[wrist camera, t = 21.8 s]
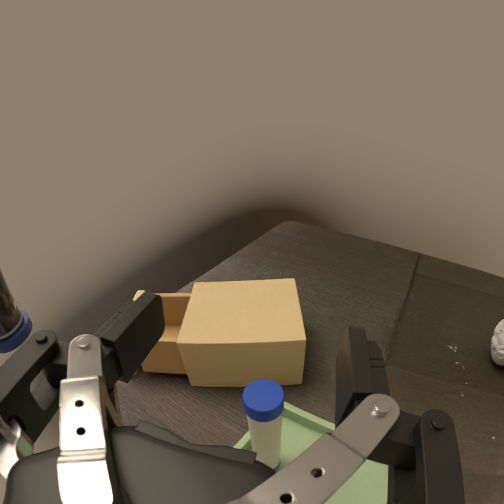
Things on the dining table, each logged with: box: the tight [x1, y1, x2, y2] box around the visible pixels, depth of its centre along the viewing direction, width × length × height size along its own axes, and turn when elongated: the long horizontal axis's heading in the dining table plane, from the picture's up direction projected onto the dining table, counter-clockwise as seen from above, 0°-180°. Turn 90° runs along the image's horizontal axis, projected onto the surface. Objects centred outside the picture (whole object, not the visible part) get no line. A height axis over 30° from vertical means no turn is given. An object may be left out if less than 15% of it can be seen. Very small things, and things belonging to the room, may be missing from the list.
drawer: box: [133, 291, 191, 375], centre depth 38 cm, size 15×11×7 cm
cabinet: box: [177, 278, 306, 387], centre depth 38 cm, size 14×12×8 cm
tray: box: [233, 402, 388, 504], centre depth 21 cm, size 20×13×2 cm, turn 53°
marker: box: [242, 379, 284, 470], centre depth 21 cm, size 3×3×14 cm
